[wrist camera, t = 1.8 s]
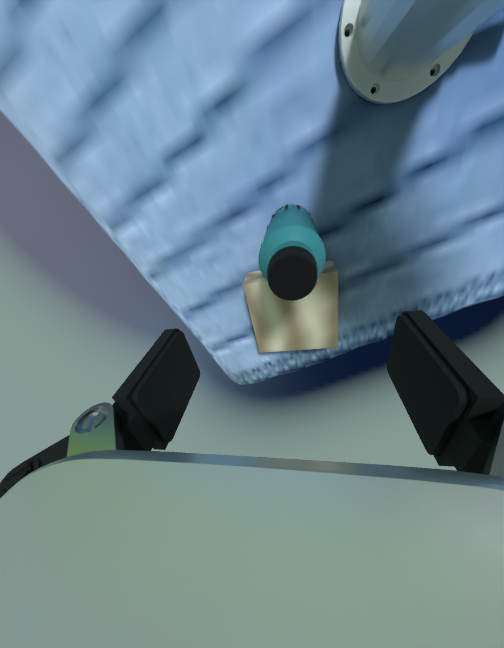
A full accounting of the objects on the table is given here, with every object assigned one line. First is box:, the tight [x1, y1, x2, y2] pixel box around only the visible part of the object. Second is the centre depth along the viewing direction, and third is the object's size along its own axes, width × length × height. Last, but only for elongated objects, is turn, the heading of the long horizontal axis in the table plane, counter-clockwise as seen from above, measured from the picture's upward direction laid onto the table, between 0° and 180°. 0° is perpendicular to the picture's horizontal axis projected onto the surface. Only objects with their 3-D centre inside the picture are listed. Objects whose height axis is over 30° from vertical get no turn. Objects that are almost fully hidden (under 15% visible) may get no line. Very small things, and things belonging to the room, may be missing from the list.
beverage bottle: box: [259, 204, 326, 301], centre depth 25 cm, size 6×7×20 cm
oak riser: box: [243, 260, 338, 353], centre depth 38 cm, size 14×14×5 cm
